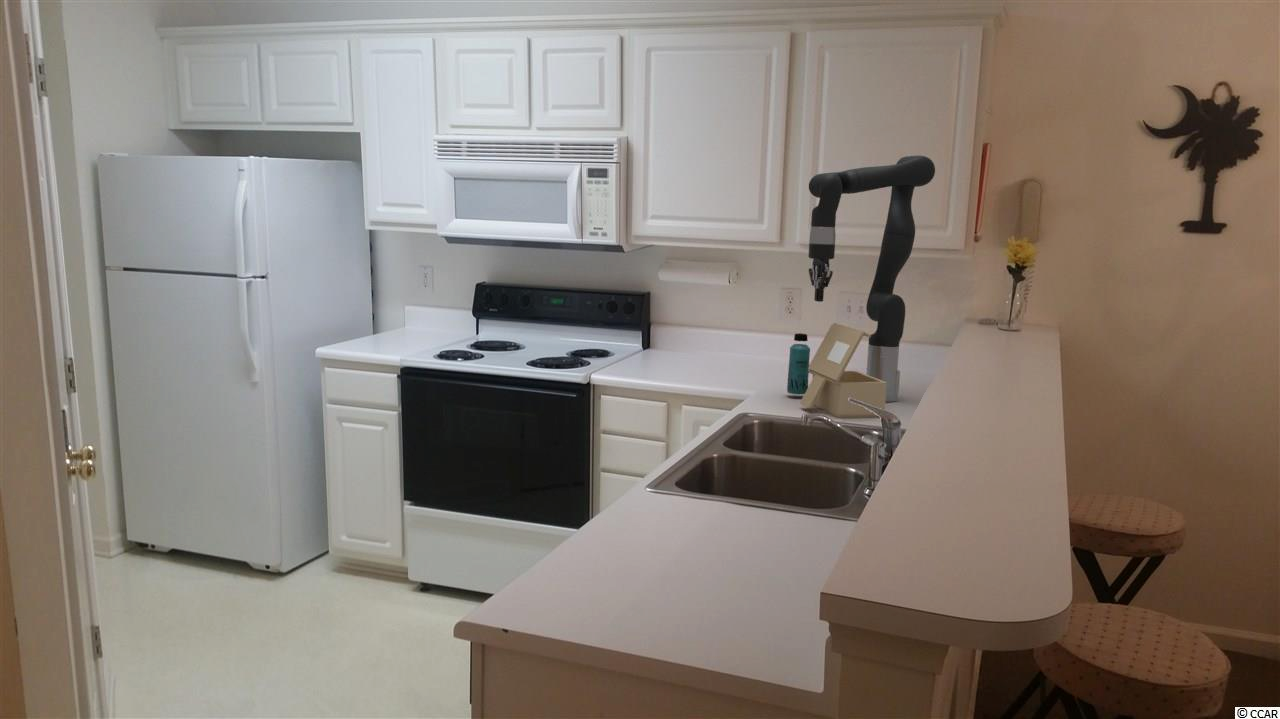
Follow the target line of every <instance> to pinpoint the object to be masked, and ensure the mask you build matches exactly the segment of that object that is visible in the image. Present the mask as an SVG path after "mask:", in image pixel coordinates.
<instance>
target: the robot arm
mask: <svg viewBox="0 0 1280 719" xmlns="http://www.w3.org/2000/svg"><path fill="white" fill-rule="evenodd" d="M935 173H936V166H935V164H934V162H933V160H932V159H930V158H929V157H927V156H925V155H908V156H904V157H901V158H900V159H898V161H897V162H896V164H889V165H879V166H878V165H877V166H876V165H875V166H865V167H859V168H852V169H847V170H843V171H833V172H824V173H818V174H815V175H814V176H813V177H812V178H810V181H809V183H808V190H809V193H810V194H811V195H812V196H814V197H815V198H819V200H818V204H817V205H816V206H815V207H813V209H811V210H812V211H811V220H810V222H811V224H810V231H809V237H808V238H809V239H808V240H809V242H808V254H807V255H808V258H809V259H812V264H811V265H812V266H811V268H808V275H809V278H810V282H811V286H812V287H813V288H814V301H815V302H817V303H818V302H819V303H820V302H823V301H824V294H825V293H824V292H825V289H826V288H828V287H829V284H830V283H831V279H832V277H833V274H834V273H833V272H834V271H833V270H830V260H833V259H834V258H835V254H836V253H835V252H836V251H835V250H836V235H837V234H836V222H837V221H836V219H837V218H836V217H837V210H838V208H839V204H840V201H841V198H842V195H843V194H844V195H846V194H847V195H848V194H849V195H850V194H859V193H863V192H869V191H873V190H878V189H885V188H890V187H891V192H890V193H891V194H890V201H889V206H888V212H887V218H886V222H885V226H884V230H883V236H882V240H881V246H880V253H879V256H878V257H879V258H878V261H877V265H876V269H875V270H876V271H875V274H874V279H873V281H872V285H871V287H870V291H869V294H868V297H867V300H866V310H865V311H866V314H867V316H868V318H869V319H870V320H871V321H873V322H877V326H876V330H875V331H874V332H873V333H871V334H870V335H871V337H868V345H867V347H868V348H867V359H866V360H867V361H866V373H865V374H866V375H869V376H871V377H874V378H876V379H879V380H882V381H884V382H887V388H886V402H885V403H894V402H899V392H900V380H901V379H900V376H901V371H900V370H899V369H898V368H899V353H900V342H901V340H902V338H903V334H904V328H905V320H906V319H905V318H906V304H905V301H904V299H903V298H902V297H901V296H900V295H899V294H895V293H894V290H895V289H894V288H895V283H896V281H897V278H898V276H899V273H900V272H901V270H902V269H903V267H905V265H906V263H907V262H908V260H909V258H910V256H911V254H912V251H913V246H914V241H915V237H916V224H915V223H916V222H915V219H914V215H913V211H912V201H913V195H914V190H915V188H916V187H917V188H918V187H919V188H920V187H923V186H925V185H928V184H929V183H930V182H931V181H932V180H933V179H934V176H935Z"/></svg>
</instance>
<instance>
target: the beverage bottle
mask: <svg viewBox="0 0 1280 719" xmlns="http://www.w3.org/2000/svg"><path fill="white" fill-rule="evenodd" d="M793 341H795V342H808V334H807V333H801V332H800V333H795V334H794V338H793ZM810 353H811V348H810V347H809V345H807V344H804V343H794V344H792V345H791V346H790V347H789V360H788V371H787V385H786V387H787V388H786V391H787V393H788V394H793V395H804V394H805V392H806V391H807V389H808V387H809V376H810V373H809V372H808V370H809V369H808V367H809V365H810V355H811V354H810Z"/></svg>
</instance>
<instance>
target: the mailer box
mask: <svg viewBox="0 0 1280 719" xmlns="http://www.w3.org/2000/svg"><path fill="white" fill-rule="evenodd" d="M866 374H867V373H864V372H860V371H858V370H844V372H843V374H842V376H841V378H840V380H839V382H840V384H839V385H836V384H834V383H831V382H829V381H826V383H825V385H824V386H823V388H822V390H821V392H820V394H819V396H818V397H817V399H816V401H815V403H814V405H813V406H815V405H816V406H815V407H817V406H818V407H817V408H819V407H820V408H821V410H822V409H823V410H822V411H824V410H825V411H824V412H827V413H828V414H830V415H832V416H834V417H836V418H838V419H848V418H849V419H855V418H879V417H878V416H877V415H875V414H874V413H873V412H870V411H869V410H867V409H865V408H864V407H862V406H859V405H857V404H854V403H851V402H850V401H848V398H849V397H851V398H853V399H856V400H859V401H862V402H864V403H867V404H870V405H872V406H875V407H878V408H881V409H883V410H885V411H886V403H887V402H886V388H887V382H884V381H882V380H879V379H876V378H874V377H871V376H869V375H866ZM814 376H815V375H813V374H812V379H813V378H814ZM820 408H819V409H820Z"/></svg>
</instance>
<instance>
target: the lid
mask: <svg viewBox="0 0 1280 719" xmlns="http://www.w3.org/2000/svg"><path fill="white" fill-rule="evenodd" d="M864 337H868V338H869V337H871V334H869V333H867V332H865V331H863V330H859V329H856V328H853V327H850V326H845V325H842V324H839V323H836V322H833V323H832V324H831V325H830V327H829V328H828V331H827V332H826V334H825V336H824V338H823V340H822V341H821V343H820V345H819V347H818V348H817V350H816V353H815V354H814V355H813V358H812V360H811V361H810V362H809V367H808V369H809V370H808V372H809V374H811V375H812V376H813V375H815V376H814V378H813V377H812V380H811V382H810V383H809V384H808V389H807V391H806V392H805V394H803V396H802V398H801V400H800V401H799V403H800V404H801V405H803V406H805V407H806V408H809V409H810V410H811V409H812V408H813V407H814V406H815V405H814V403H815V401H816V399H817V397H818V396H819V394H820V392H821V390H822V388H823V386H824V385H825V383H826V381H829V382H831V383H834V384H836V385H839V384H840V382H839V380H840V378H841V376H842V374H843V372H844V371H846V368H847V367H848V365H849V363H850V361H851V359H852V358H853V356H854V354H855V352H856V351H857V348H858V347H859V345H860V343H861V341H862V339H863V338H864Z"/></svg>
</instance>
